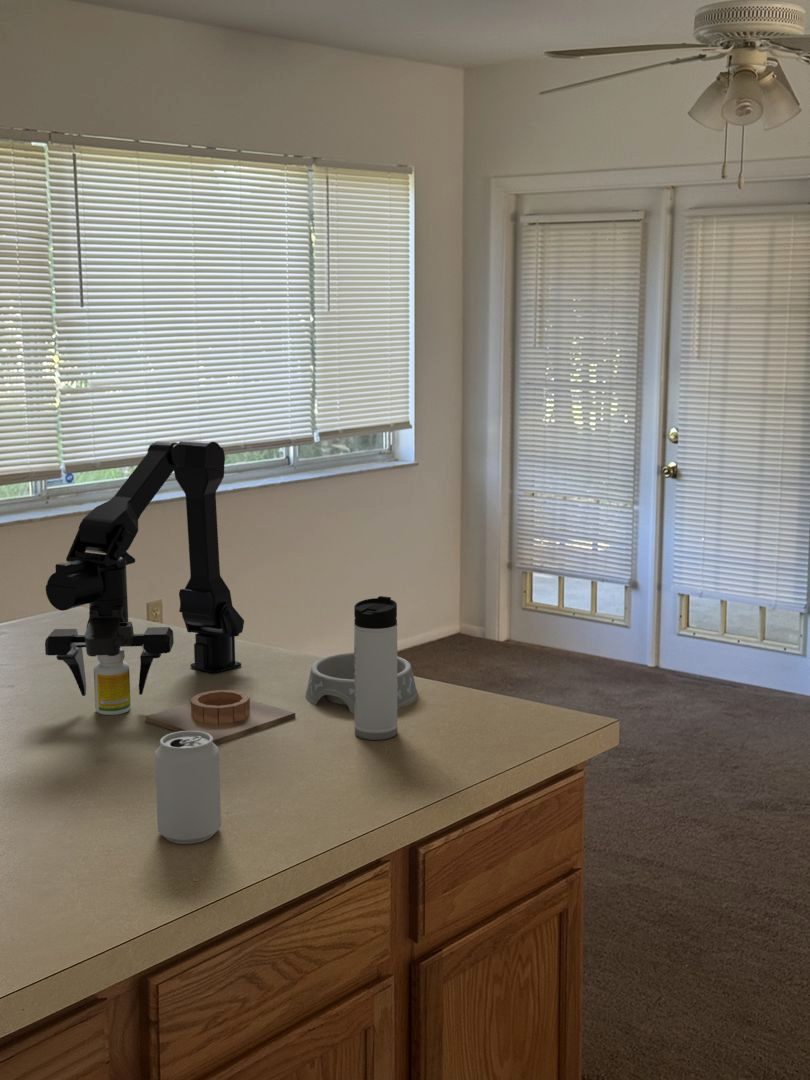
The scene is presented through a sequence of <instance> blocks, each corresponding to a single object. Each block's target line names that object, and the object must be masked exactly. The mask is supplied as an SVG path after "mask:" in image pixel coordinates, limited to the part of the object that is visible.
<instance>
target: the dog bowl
mask: <svg viewBox="0 0 810 1080" xmlns="http://www.w3.org/2000/svg"><path fill="white" fill-rule="evenodd" d="M310 668H311V669H310V672H309V677H308V678H309V679H308V682H307V687H306V690H305V697H304V698H305V700H306V701H307V702H308V703H310V704H311V705H312V706H314V707H315V706H317V703H318V702H319V700H320V699H321V698H322V697H323V698H324V699H326V700H327V701H329V702H331V703H334V704H338V705H342V706H343V705H344V706H347V707H348V709H349V712H350V713H351V714H355V680H354V651H352V652H345V653H343V652H342V653H336V654H332V655H331V654H330V655H329V656H328V655H327V656H325V657H322V658H320V659H318V660H316V661H315V662H314V663H313V664H312V666H311V667H310ZM418 698H419V693H418V689H417V686H416V680H415V678H414V673H413V668H412V665H411V663H410V662H409V661H408V660H407V659H404V658H403V657H400V656H398V655H397V710H399V709H401V708H405V707H408V706H409V705H411V704H413V703H415V702H416V701H417V699H418Z"/></svg>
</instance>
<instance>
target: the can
mask: <svg viewBox="0 0 810 1080" xmlns="http://www.w3.org/2000/svg"><path fill="white" fill-rule="evenodd" d="M212 741H213V736H211V735H210V734H208V733H205V732H201V731H179V732H175V731H173V732H171V733H167V734H166V735H164V736H162V737H161V738H160V740H159V747H158V748H157V749H156V750H155V751H154V762H155V763H154V766H155V767H154V768H155V789H156V792H155V793H156V794H155V796H156V816H157V817H156V819H157V820H156V821H157V832H158V833H159V835H161V836H163V837H164V838H165V839H166V840H167V841H170V842H171V843H175V844H181V845H183V844H184V845H185V844H187V845H189V844H196V843H201V842H204V841H207V840H209V839H211V838H212V837H213V836H214V835H215V833H217V832H218V831H219V830H220V828H221V826H222V813H221V812H222V809H221V808H222V807H221V805H222V804H221V775H220V772H221V771H220V769H221V768H220V767H221V766H220V749H219V747H218V746H217V745H215V744H214V743H213V742H212Z"/></svg>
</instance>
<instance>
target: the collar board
mask: <svg viewBox="0 0 810 1080" xmlns="http://www.w3.org/2000/svg"><path fill="white" fill-rule="evenodd" d="M144 717H145V718H144V719H145V722H146V723H149V724H153V725H156V726H158V727H161V728H164V729H167V730H170V731H173V732H179V731H201V732H205V733H208V734H210V735H211V736H213V741H212V742H213V743H214V744H215V745H216V746H217V745H219V744H222V743H225V742H229V741H232V740H235V739H237V738H241V737H244V736H247V735H249V734H252V733H254V732H258V731H260V730H261V731H262V730H263V729H267V728H270V727H272V726H275V725H279V724H282V723H284V722H287V721H291V720H293V719H295V718H296V712H295V711H290V710H287V709H285V708H282V707H281V708H280V707H278V706H275V705H271V704H267V703H263V702H261V701H257V700H254V699H251V698H250V696H249V695H248V694H247V693H246V692H241V691H238V690H234V689H233V690H230V689H216V690H209V691H204V692H200V693H198V694H195V695H194V696H192V697H191V698H190V702H188V703H184V704H181V705H177V706H175V707H171V708H168V709H167V708H166V709H163V710H161V711H157V712H155V713H151V714H148V715H146V716H144Z"/></svg>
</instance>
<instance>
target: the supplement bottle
mask: <svg viewBox="0 0 810 1080" xmlns="http://www.w3.org/2000/svg"><path fill="white" fill-rule="evenodd" d="M125 658H126V657H125V649H124V648H123V647H120V652H119V654H118V655H115V656H108V655H97V661H98V663H96V664H95V666H94V668H93V683H94V687H93V688H94V709H95V711H96V713H98V714H99V715H102V716H103V715H106V716H118V715H121V714H126V713H127V712H128V711H130V709H131V706H132V705H131V683H130V682H131V681H130V678H131V677H130V674H131V673H130V666H129V663H127V662H126V661H124V659H125Z"/></svg>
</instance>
